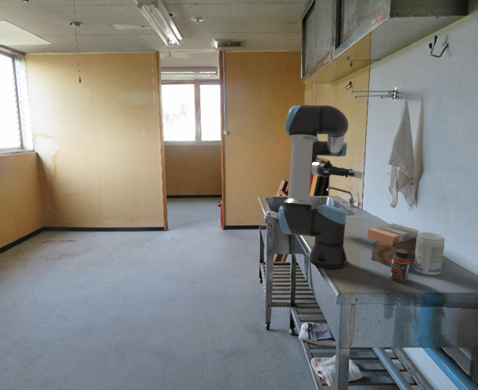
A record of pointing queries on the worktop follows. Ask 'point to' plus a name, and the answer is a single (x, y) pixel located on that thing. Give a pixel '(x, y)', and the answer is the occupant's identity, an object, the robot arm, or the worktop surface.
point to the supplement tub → (429, 253)
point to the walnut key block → (393, 250)
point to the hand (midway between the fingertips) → (361, 175)
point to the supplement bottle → (400, 266)
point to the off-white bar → (411, 231)
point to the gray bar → (395, 232)
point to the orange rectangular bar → (383, 236)
